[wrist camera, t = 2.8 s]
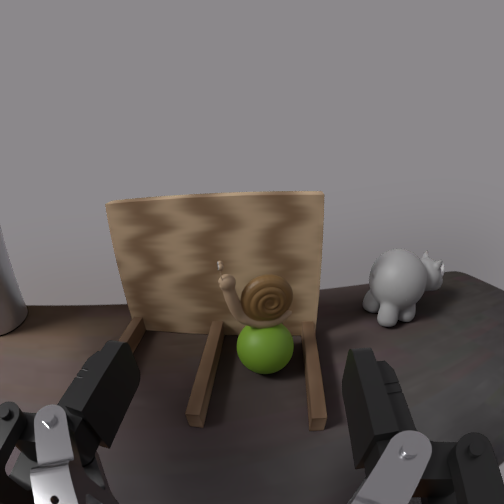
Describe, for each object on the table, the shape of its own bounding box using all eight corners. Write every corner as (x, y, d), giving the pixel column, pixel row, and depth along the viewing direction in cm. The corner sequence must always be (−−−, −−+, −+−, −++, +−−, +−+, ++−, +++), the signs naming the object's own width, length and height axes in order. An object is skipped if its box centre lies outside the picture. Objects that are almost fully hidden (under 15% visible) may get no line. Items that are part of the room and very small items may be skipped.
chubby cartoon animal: (451, 315, 32) (468, 256, 28) (379, 336, 30) (395, 268, 27) (422, 289, 39) (433, 235, 35) (354, 303, 37) (362, 242, 34)
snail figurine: (226, 353, 30) (214, 250, 25) (284, 344, 31) (286, 242, 26) (232, 390, 25) (218, 279, 20) (298, 379, 26) (307, 268, 21)
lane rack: (90, 405, 22) (20, 254, 16) (139, 322, 35) (111, 200, 29) (328, 429, 20) (365, 250, 14) (313, 327, 33) (321, 191, 27)
